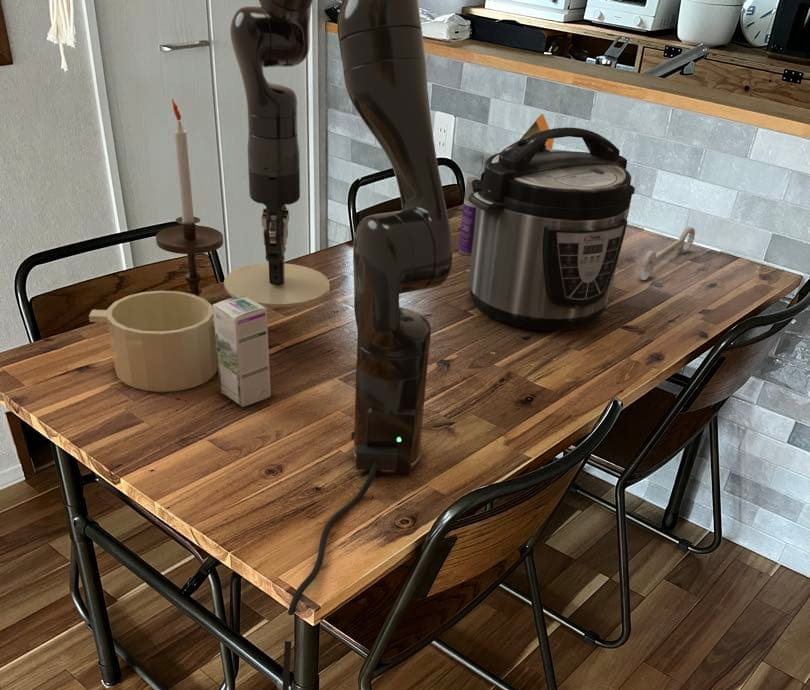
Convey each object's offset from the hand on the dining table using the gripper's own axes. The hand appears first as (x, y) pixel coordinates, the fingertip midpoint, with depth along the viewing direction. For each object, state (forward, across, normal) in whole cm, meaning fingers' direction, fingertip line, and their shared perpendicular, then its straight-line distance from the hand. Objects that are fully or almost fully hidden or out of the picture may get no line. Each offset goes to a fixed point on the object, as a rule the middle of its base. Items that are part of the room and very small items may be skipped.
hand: (277, 279), depth 135 cm
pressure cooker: (+12, -21, +48) cm, 54 cm away
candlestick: (+12, -10, -15) cm, 22 cm away
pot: (+12, +9, -17) cm, 23 cm away
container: (+12, -50, +38) cm, 64 cm away
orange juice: (+12, -88, +57) cm, 106 cm away
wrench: (+12, -47, +81) cm, 94 cm away
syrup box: (+12, +17, -4) cm, 21 cm away
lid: (+1, 0, 0) cm, 1 cm away
